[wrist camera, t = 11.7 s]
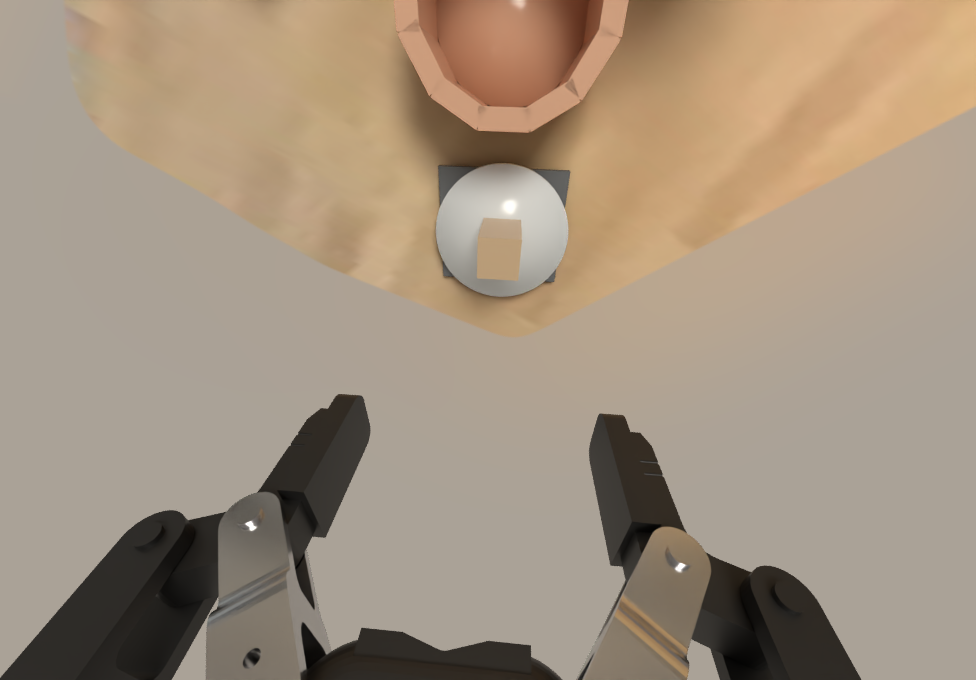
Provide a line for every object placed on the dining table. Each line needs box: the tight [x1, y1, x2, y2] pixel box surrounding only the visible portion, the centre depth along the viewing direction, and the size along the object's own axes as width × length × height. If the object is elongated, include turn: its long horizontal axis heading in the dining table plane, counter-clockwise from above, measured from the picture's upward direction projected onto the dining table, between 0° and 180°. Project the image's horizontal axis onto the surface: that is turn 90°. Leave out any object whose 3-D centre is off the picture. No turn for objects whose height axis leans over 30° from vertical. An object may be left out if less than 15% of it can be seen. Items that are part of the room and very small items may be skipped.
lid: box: [436, 163, 568, 297], centre depth 27 cm, size 11×11×6 cm
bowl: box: [394, 0, 629, 133], centre depth 19 cm, size 12×12×6 cm
